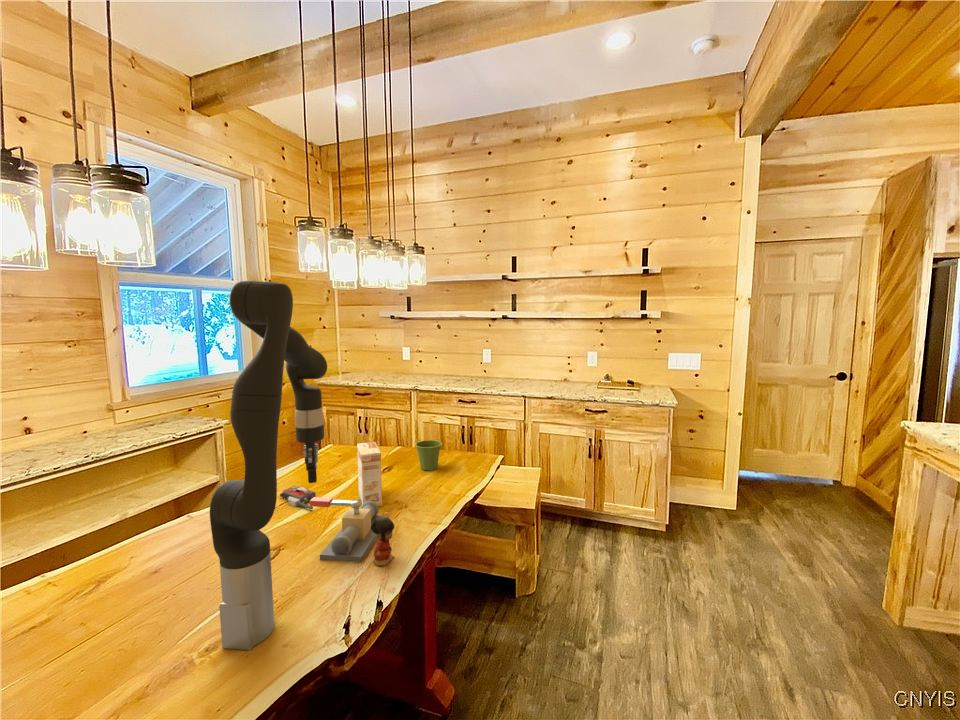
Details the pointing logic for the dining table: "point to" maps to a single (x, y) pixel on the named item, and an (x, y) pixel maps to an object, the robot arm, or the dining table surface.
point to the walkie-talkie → (298, 496)
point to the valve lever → (334, 502)
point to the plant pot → (428, 453)
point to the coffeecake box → (369, 473)
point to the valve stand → (354, 535)
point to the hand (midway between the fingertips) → (312, 481)
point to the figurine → (382, 541)
